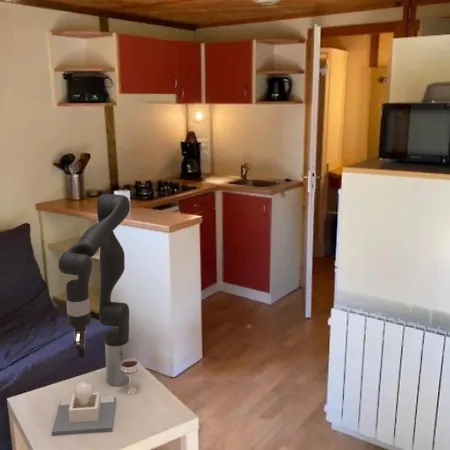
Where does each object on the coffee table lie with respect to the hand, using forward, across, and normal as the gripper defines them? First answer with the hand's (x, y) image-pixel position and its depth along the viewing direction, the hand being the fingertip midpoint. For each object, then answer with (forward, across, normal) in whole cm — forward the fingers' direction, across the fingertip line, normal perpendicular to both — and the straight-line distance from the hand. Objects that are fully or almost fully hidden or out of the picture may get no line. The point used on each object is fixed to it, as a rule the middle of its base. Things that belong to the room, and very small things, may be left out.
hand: (81, 356), depth 177 cm
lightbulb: (+21, 0, 0) cm, 21 cm away
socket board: (+24, 0, 0) cm, 24 cm away
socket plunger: (+23, 0, 0) cm, 23 cm away
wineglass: (+24, -15, +15) cm, 32 cm away
